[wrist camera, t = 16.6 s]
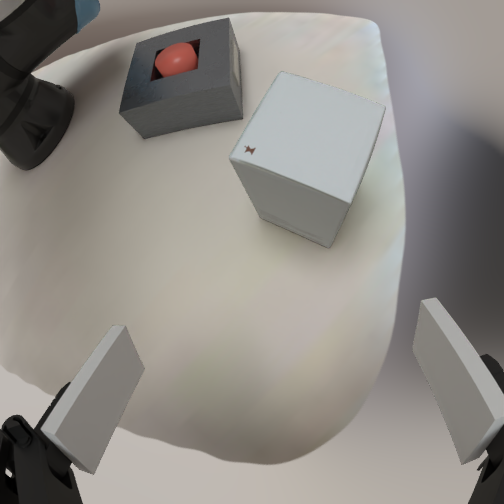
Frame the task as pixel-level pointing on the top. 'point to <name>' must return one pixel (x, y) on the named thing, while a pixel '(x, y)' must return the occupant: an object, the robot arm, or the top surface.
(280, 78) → the supplement box
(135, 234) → the top surface
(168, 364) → the top surface
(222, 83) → the grey button housing
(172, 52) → the button
